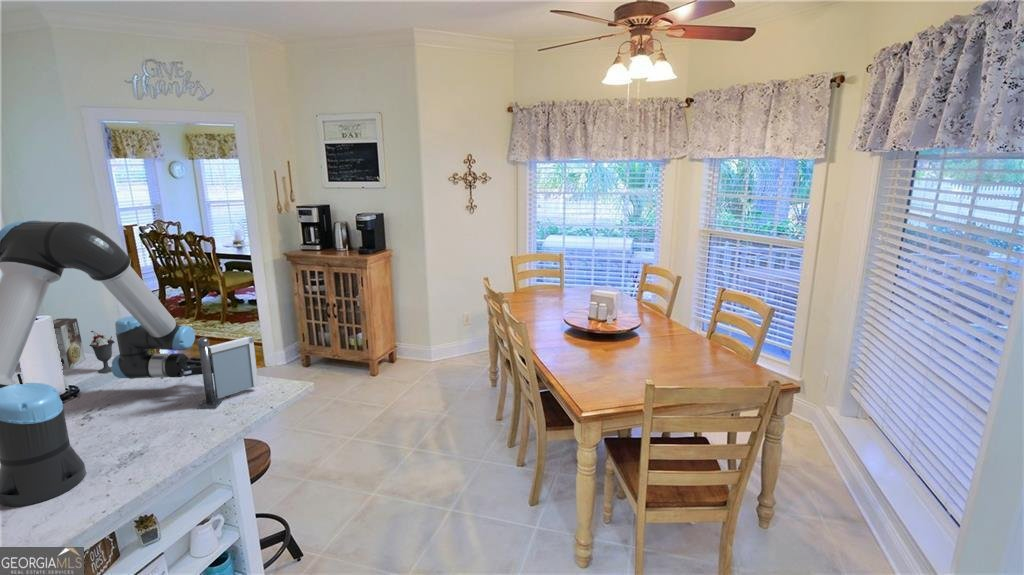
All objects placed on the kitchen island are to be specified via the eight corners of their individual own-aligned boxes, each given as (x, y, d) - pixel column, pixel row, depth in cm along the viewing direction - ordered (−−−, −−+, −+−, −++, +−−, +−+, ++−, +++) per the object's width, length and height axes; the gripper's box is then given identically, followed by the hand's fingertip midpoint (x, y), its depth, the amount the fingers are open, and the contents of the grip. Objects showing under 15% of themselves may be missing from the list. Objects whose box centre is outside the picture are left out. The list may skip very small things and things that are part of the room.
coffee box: (66, 360, 186) (57, 318, 182) (86, 359, 187) (77, 317, 183) (48, 370, 177) (39, 326, 173) (69, 369, 178) (60, 325, 174)
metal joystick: (216, 408, 154) (207, 340, 148) (198, 408, 153) (189, 340, 148) (223, 400, 159) (215, 334, 153) (206, 401, 158) (197, 334, 153)
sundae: (89, 372, 176) (81, 331, 172) (109, 365, 182) (102, 325, 178) (103, 375, 174) (95, 333, 170) (123, 368, 180) (116, 327, 177)
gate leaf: (217, 399, 156) (210, 348, 152) (214, 397, 157) (207, 346, 153) (258, 386, 166) (253, 337, 161) (255, 384, 167) (250, 336, 163)
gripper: (182, 368, 169) (257, 366, 172) (159, 385, 156) (241, 383, 159) (179, 346, 167) (255, 345, 170) (156, 362, 154) (238, 360, 157)
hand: (248, 363), depth 164 cm, fingers closed
